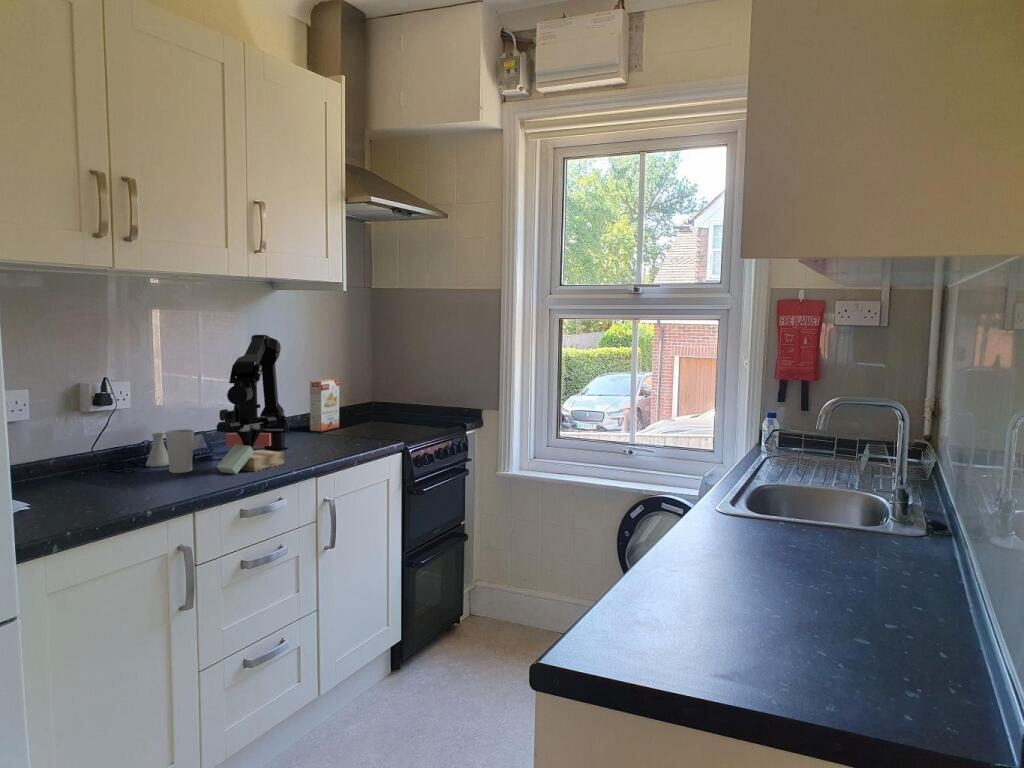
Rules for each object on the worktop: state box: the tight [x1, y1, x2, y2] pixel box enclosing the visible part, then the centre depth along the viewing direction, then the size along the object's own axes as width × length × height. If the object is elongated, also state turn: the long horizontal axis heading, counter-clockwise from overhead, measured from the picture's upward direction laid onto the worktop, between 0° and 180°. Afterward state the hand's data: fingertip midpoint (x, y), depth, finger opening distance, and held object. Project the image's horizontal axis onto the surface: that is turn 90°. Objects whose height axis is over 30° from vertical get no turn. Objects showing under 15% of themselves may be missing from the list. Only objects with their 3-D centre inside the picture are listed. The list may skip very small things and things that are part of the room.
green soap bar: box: [216, 444, 255, 475], centre depth 212 cm, size 9×6×2 cm
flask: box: [145, 432, 169, 468], centre depth 220 cm, size 7×7×10 cm
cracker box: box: [309, 378, 340, 433], centre depth 296 cm, size 14×6×21 cm, turn 162°
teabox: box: [240, 448, 285, 472], centre depth 220 cm, size 12×10×4 cm
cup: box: [164, 428, 195, 474], centre depth 212 cm, size 8×8×12 cm
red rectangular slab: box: [225, 432, 271, 447], centre depth 232 cm, size 14×2×7 cm, turn 94°
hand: (248, 452), depth 216 cm, fingers closed
